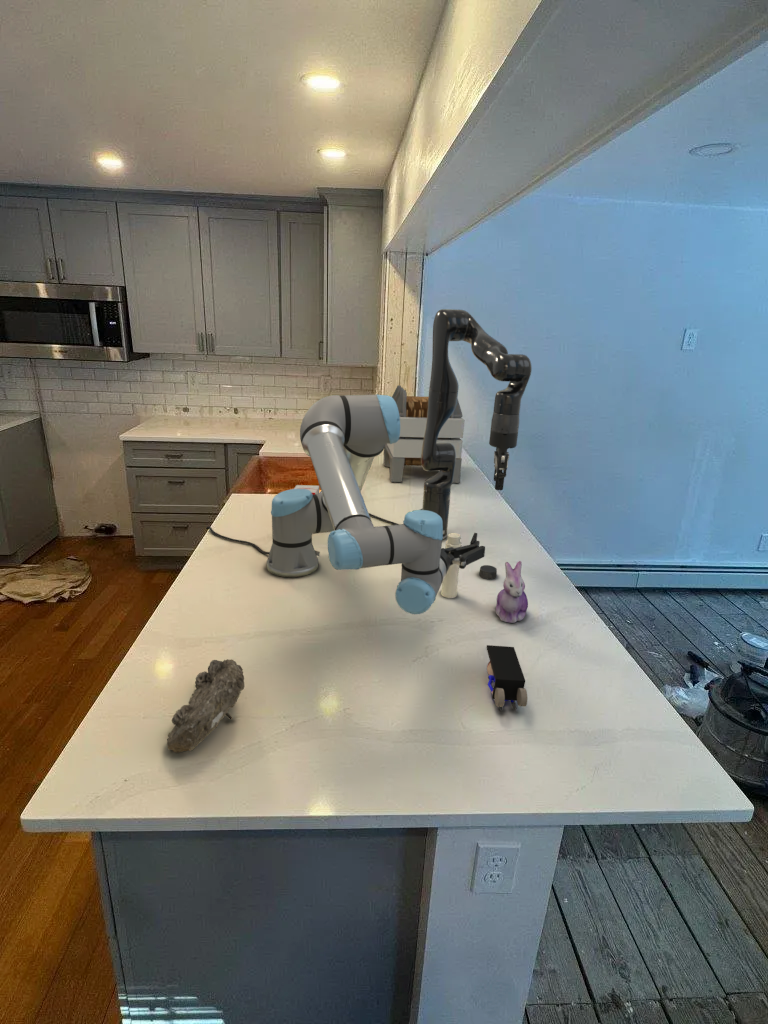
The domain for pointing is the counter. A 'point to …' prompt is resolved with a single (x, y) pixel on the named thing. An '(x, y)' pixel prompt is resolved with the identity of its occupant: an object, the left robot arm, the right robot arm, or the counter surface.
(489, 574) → the lid
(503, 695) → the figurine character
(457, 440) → the transformer
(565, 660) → the counter surface
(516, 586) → the figurine
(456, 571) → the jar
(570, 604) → the counter surface
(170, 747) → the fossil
